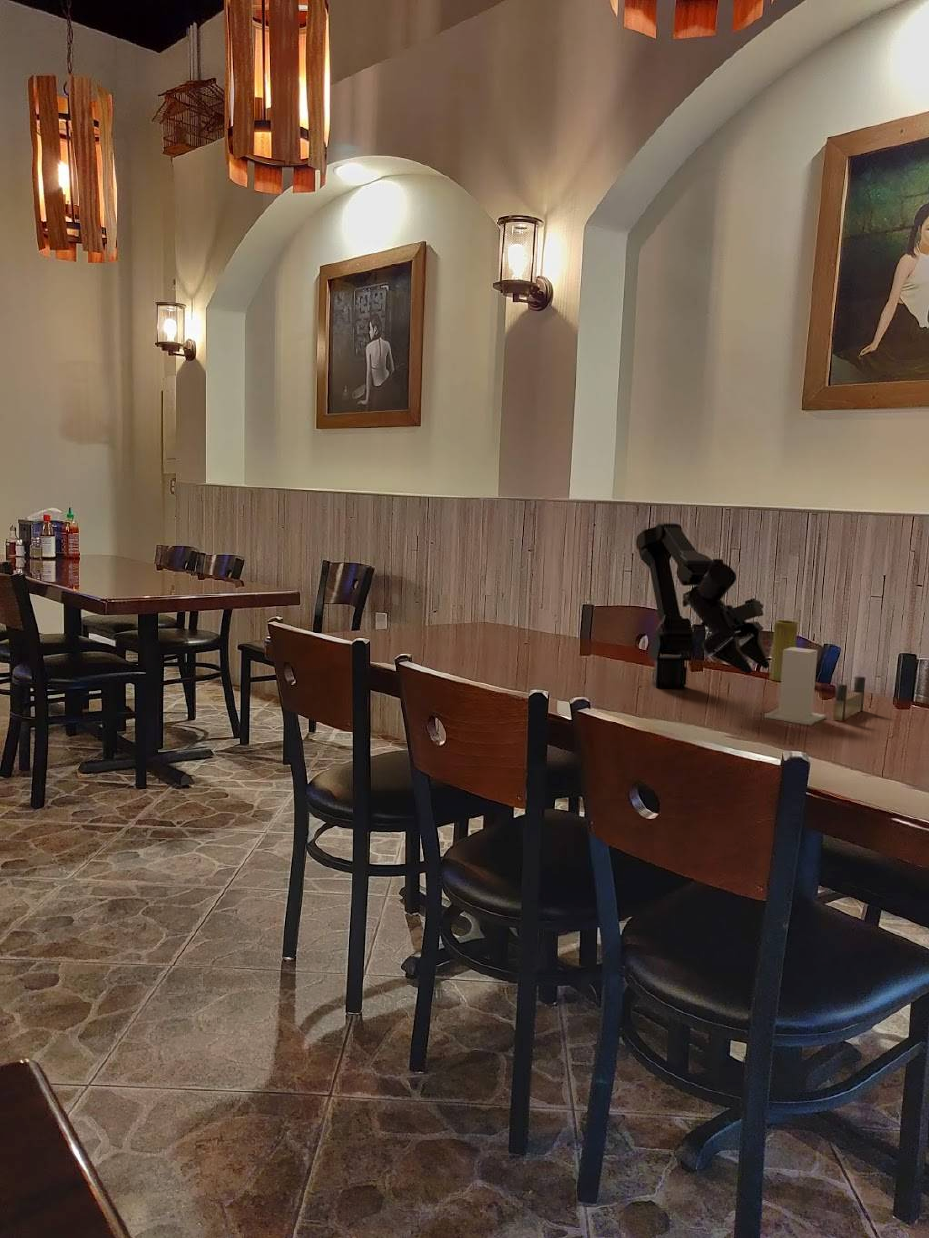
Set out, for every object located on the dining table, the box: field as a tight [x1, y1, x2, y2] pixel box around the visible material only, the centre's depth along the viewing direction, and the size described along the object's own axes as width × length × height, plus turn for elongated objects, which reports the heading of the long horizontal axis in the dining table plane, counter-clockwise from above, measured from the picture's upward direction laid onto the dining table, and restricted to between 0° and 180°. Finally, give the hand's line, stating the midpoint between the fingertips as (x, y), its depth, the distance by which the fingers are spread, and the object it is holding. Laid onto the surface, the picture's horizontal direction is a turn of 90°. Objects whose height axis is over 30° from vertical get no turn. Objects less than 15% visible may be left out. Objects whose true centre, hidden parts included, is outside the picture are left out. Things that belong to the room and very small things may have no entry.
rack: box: [832, 676, 866, 722], centre depth 189 cm, size 2×14×7 cm, turn 141°
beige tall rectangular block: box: [778, 646, 818, 719], centre depth 184 cm, size 5×5×13 cm
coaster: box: [764, 708, 827, 726], centre depth 185 cm, size 9×9×1 cm
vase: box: [768, 619, 799, 682], centre depth 226 cm, size 6×6×14 cm
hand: (759, 669), depth 189 cm, fingers open, 9 cm apart
